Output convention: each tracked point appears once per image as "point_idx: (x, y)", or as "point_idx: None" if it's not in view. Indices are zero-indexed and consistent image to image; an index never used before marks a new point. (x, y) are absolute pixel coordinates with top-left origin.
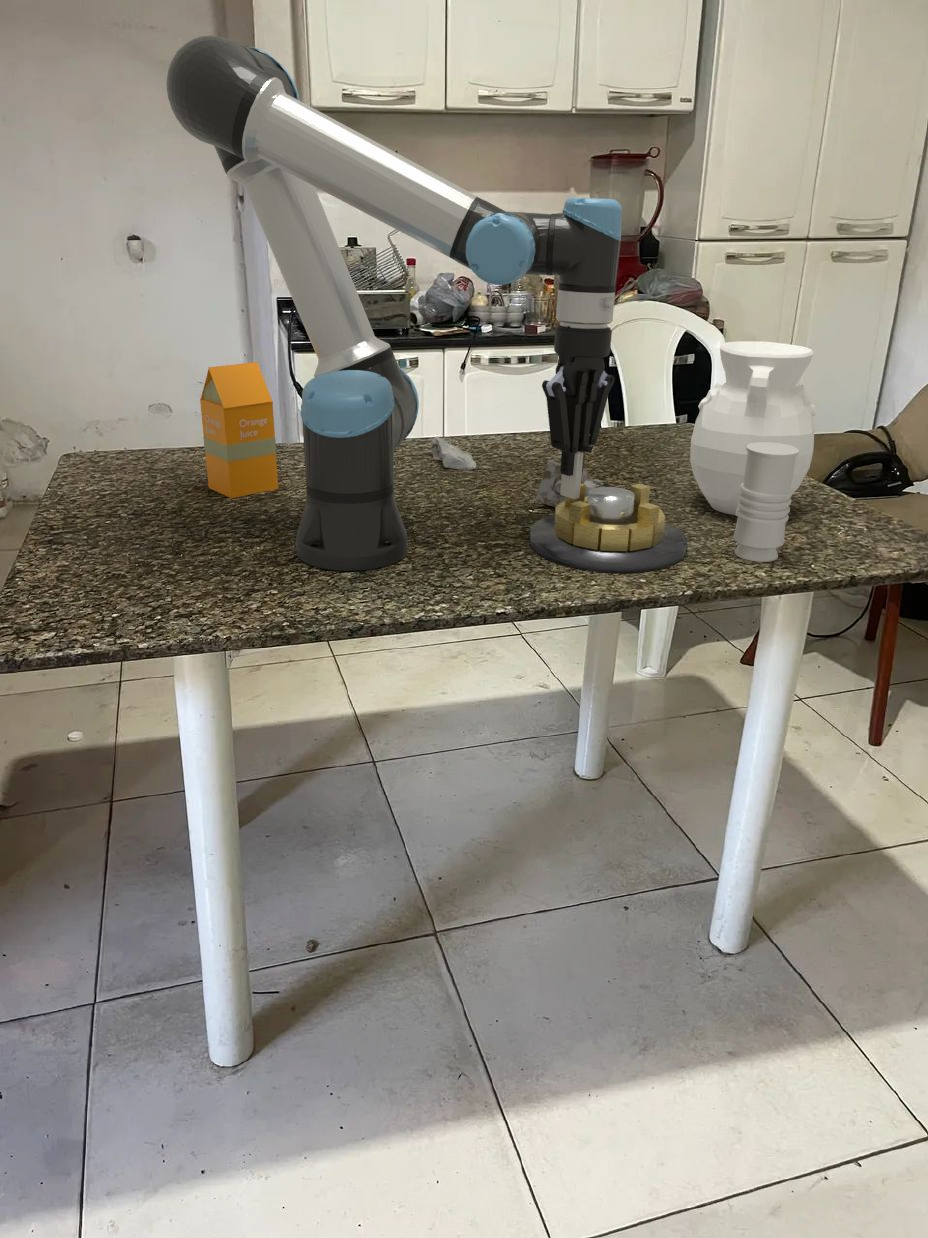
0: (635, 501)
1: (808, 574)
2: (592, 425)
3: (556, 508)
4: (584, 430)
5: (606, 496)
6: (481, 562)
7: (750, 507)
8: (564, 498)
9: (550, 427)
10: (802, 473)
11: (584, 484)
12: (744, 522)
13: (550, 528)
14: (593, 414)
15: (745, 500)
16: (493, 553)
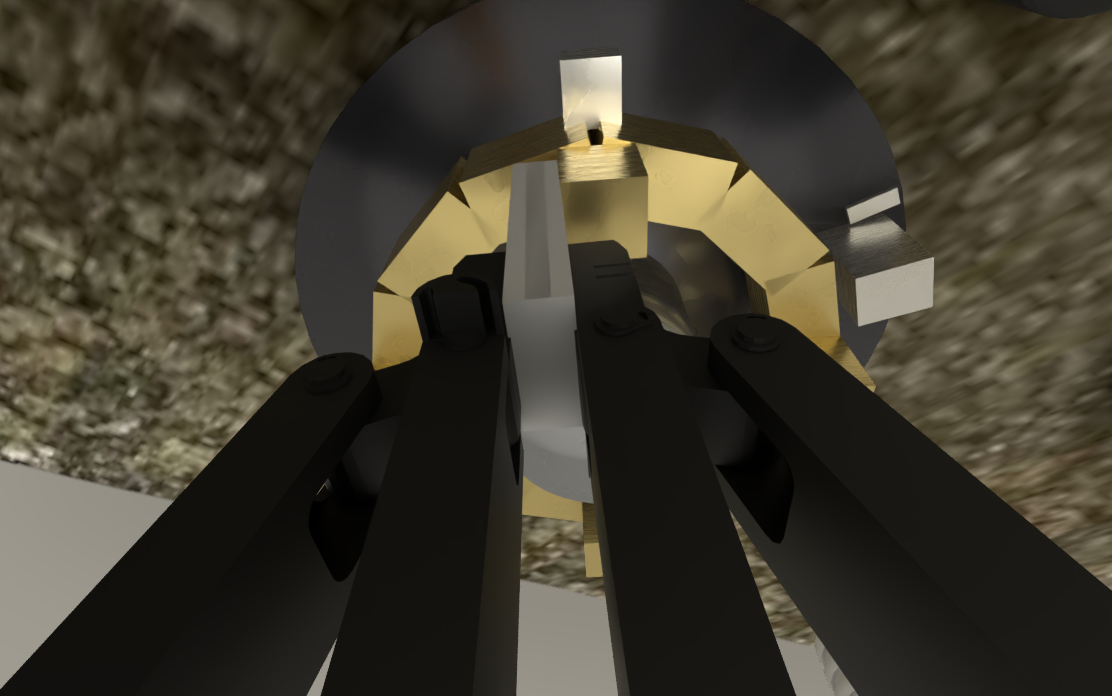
0: None
1: (791, 623)
2: (784, 561)
3: (430, 217)
4: (602, 572)
5: (554, 446)
6: (51, 173)
7: (839, 676)
8: None
9: (160, 535)
10: None
11: (644, 250)
12: None
13: (447, 141)
14: (879, 664)
15: (847, 687)
16: (134, 122)
